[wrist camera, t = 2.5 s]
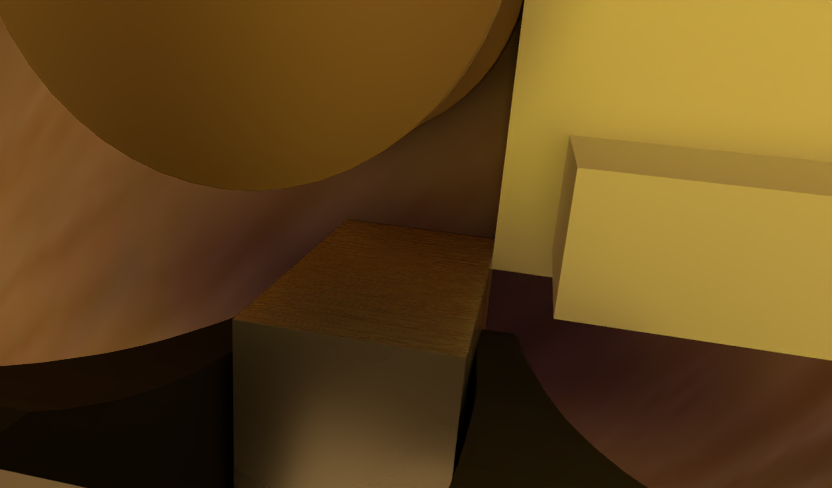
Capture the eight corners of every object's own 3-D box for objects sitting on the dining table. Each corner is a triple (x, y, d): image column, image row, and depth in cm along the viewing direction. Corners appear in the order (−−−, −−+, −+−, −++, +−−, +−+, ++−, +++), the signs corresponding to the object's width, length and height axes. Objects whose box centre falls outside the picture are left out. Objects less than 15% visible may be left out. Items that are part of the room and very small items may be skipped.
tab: (497, 239, 12) (466, 357, 8) (471, 438, 14) (432, 641, 9) (346, 219, 13) (232, 319, 8) (337, 414, 14) (235, 595, 10)
